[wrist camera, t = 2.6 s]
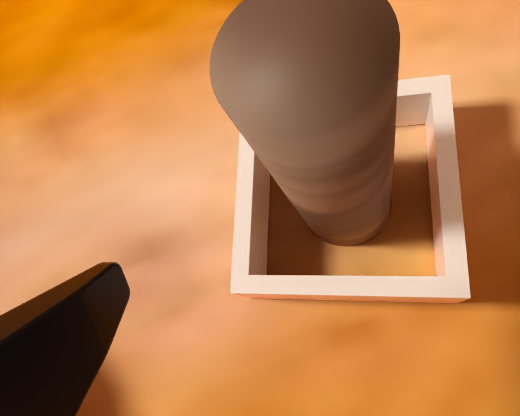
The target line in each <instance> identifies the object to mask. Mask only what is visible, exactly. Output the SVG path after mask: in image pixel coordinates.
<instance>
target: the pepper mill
mask: <svg viewBox="0 0 520 416" xmlns="http://www.w3.org/2000/svg"><path fill="white" fill-rule="evenodd" d="M399 51H400V32H399V25H398V21H397V18H396V15H395V13H394V11H393V9H392V7H391V5H390V3H389V2H388V1H387V0H243V1H242V2H241V3H240V4H239V5H238V6H237V7H236V8H235V9H234V10H233V11H232V13H231V14H230V15H229V17H228V18H227V19H226V21H225V22H224V24H223V25H222V27H221V29H220V31H219V32H218V35H217V37H216V39H215V42H214V45H213V49H212V52H211V58H210V78H211V84H212V88H213V91H214V94H215V96H216V98H217V100H218V102H219V104H220V105H221V106H222V108H223V109H224V111H225V112H226V114H227V115H228V116H229V118H230V119H231V120H232V122H233V123H234V125H235V126H236V127H237V129H238V130H239V131H240V133H241V134H242V136H243V137H244V138H245V140H246V141H247V142H248V144H249V145H250V147H251V148H252V149H253V151H254V152H255V154H256V155H257V156H258V158H259V159H260V160H261V162H262V163H263V165H264V166H265V167H266V169H267V170H268V171H269V173H270V174H271V176H272V177H273V178H274V180H275V181H276V182H277V184H278V185H279V187H280V188H281V189H282V191H283V192H284V193H285V195H286V196H287V198H288V199H289V200H290V202H291V203H292V204H293V206H294V207H295V209H296V210H297V211H298V213H299V214H300V215H301V217H302V218H303V220H304V221H305V222H306V224H307V225H308V226H309V228H310V229H311V230H312V232H313V233H314V234H315V235H316V236H318V237H319V238H320V239H322V240H323V241H325V242H328V243H330V244H333V245H338V246H354V245H359V244H362V243H364V242H366V241H368V240H370V239H372V238H373V237H375V236H376V235H377V234H378V233H379V232H380V231H381V230H382V229H383V227H384V226H385V224H386V222H387V220H388V218H389V215H390V211H391V201H392V182H393V164H394V145H395V126H396V107H397V89H398V70H399Z"/></svg>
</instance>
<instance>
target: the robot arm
mask: <svg viewBox="0 0 520 416" xmlns="http://www.w3.org/2000/svg"><path fill="white" fill-rule="evenodd" d="M129 297H130V289H129V286H128V283H127V281H126V278H125V276H124V273H123V271H122V268H121V266H120V265H119V264H118V263H116V262H102V263H99V264H97V265H95V266H94V267H92V268H90V269H88V270H86V271H84V272H82V273H80V274H78V275H76V276H75V277H73V278H71V279H69V280H67V281H65V282H63V283H61V284H59V285H57V286H56V287H54V288H52V289H50V290H48V291H46V292H44V293H42V294H40V295H38V296H37V297H35V298H33V299H31V300H29V301H27V302H25V303H23V304H21V305H19V306H18V307H16V308H14V309H12V310H10V311H8V312H6V313H4V314H2V315H0V416H76V415H77V413H78V411H79V409H80V407H81V405H82V403H83V401H84V399H85V397H86V395H87V393H88V391H89V389H90V387H91V385H92V383H93V381H94V379H95V377H96V375H97V373H98V371H99V369H100V367H101V365H102V364H103V361H104V359H105V357H106V355H107V353H108V351H109V348H110V346H111V344H112V341H113V338H114V336H115V333H116V331H117V328H118V326H119V323H120V321H121V318H122V315H123V313H124V310H125V308H126V305H127V303H128V300H129Z"/></svg>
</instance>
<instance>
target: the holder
mask: <svg viewBox="0 0 520 416" xmlns="http://www.w3.org/2000/svg"><path fill="white" fill-rule="evenodd" d="M419 124H425V128H426V142H427V155H428V169H429V183H430V197H431V210H432V224H433V238H434V251H435V265H436V276H315V275H267V247H268V220H269V192H270V173H269V171H268V170H267V169H266V167H265V166H264V165H263V163H262V162H261V160H260V159H259V158H258V156H257V155H256V154H255V152H254V151H253V149H252V148H251V147H250V145H249V144H248V142H247V141H246V140H245V138H244V137H243V136H242V134H241V133H240V135H239V152H238V169H237V185H236V202H235V219H234V236H233V253H232V270H231V287H230V293H231V294H235V295H240V296H244V297H248V298H265V299H307V300H349V301H392V302H434V303H459V302H462V301H464V300H467V299H470V298H471V296H470V286H469V275H468V264H467V254H466V243H465V232H464V222H463V211H462V200H461V190H460V179H459V168H458V158H457V147H456V136H455V126H454V115H453V104H452V94H451V83H450V74H449V75H440V76H431V77H423V78H414V79H405V80H398V89H397V107H396V126H408V125H419ZM396 126H395V127H396Z"/></svg>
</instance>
